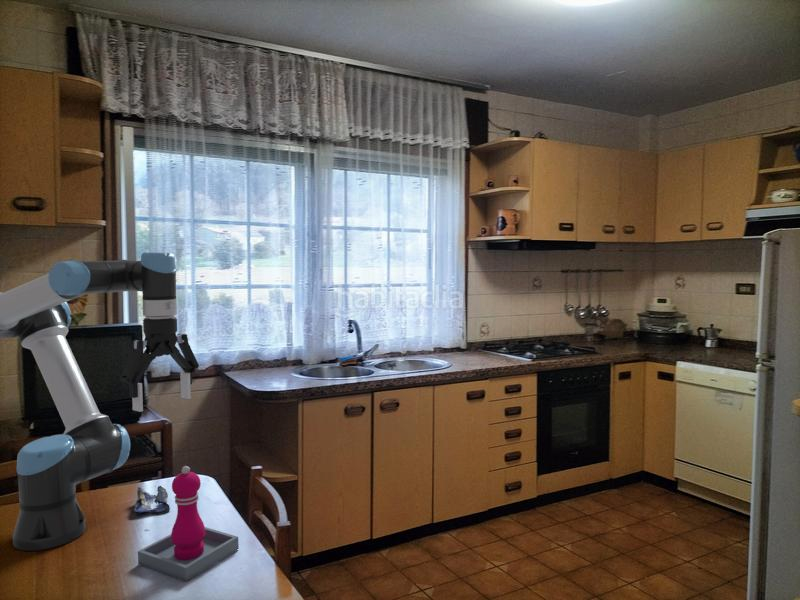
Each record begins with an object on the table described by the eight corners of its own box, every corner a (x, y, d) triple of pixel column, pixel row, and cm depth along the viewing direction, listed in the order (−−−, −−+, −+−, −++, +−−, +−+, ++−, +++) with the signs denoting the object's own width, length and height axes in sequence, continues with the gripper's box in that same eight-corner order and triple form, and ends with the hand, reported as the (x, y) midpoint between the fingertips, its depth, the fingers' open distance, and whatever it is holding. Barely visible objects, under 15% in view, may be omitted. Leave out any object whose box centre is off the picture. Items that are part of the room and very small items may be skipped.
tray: (138, 564, 127) (137, 551, 127) (192, 535, 140) (192, 523, 140) (186, 581, 120) (185, 567, 119) (238, 549, 133) (238, 536, 132)
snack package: (185, 500, 162) (145, 497, 163) (182, 479, 160) (143, 477, 162) (163, 526, 150) (121, 523, 152) (160, 504, 149) (118, 501, 150)
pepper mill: (195, 562, 125) (191, 473, 124) (165, 560, 127) (161, 471, 125) (212, 546, 133) (208, 461, 131) (183, 544, 134) (179, 459, 132)
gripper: (122, 323, 126) (125, 418, 127) (211, 313, 147) (213, 395, 149) (101, 321, 129) (104, 414, 131) (191, 311, 151) (193, 391, 153)
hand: (162, 404), depth 140 cm, fingers open, 13 cm apart
